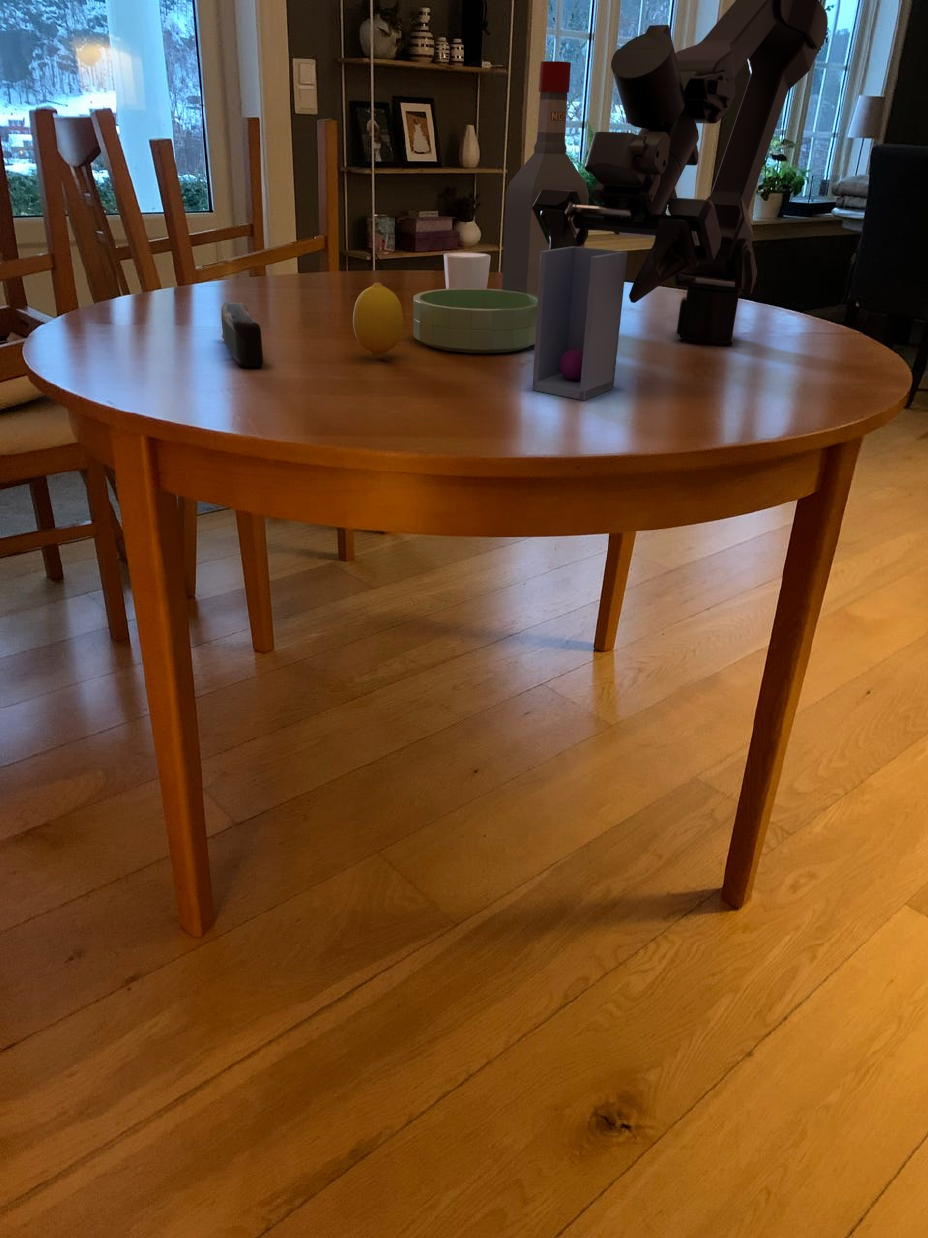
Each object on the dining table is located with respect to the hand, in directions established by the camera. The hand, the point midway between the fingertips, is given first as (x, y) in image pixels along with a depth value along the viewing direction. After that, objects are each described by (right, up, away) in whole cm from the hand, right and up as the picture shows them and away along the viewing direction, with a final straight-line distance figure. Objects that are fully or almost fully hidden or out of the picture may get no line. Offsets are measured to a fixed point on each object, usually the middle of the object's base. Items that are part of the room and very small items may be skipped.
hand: (589, 293), depth 87 cm
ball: (-1, -6, +2) cm, 7 cm away
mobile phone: (-37, -2, +13) cm, 40 cm away
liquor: (-2, +8, +34) cm, 34 cm away
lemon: (-22, -2, +13) cm, 26 cm away
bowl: (-11, +2, +23) cm, 25 cm away
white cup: (-12, +14, +45) cm, 49 cm away
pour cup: (-1, -8, +3) cm, 9 cm away
